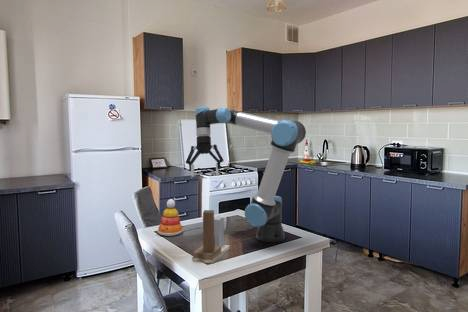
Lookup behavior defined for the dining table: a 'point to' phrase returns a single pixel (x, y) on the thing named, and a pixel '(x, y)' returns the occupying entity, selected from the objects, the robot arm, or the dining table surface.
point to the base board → (223, 249)
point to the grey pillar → (219, 231)
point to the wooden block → (208, 231)
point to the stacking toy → (170, 221)
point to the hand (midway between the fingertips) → (205, 176)
